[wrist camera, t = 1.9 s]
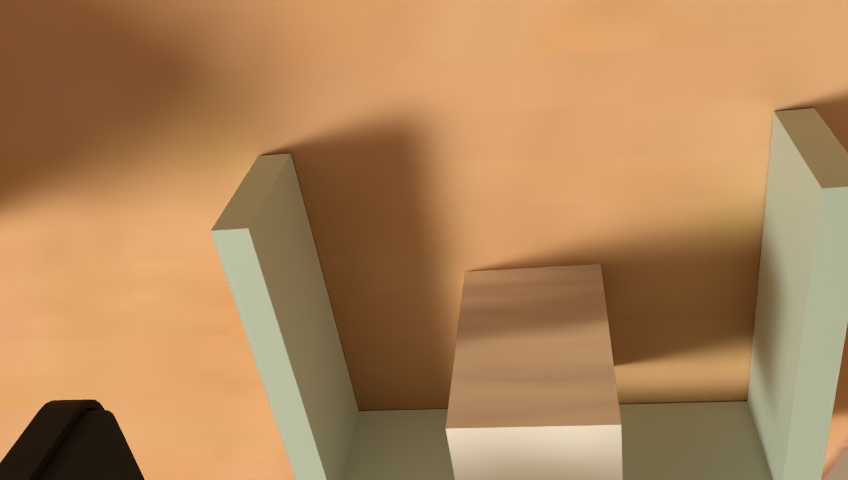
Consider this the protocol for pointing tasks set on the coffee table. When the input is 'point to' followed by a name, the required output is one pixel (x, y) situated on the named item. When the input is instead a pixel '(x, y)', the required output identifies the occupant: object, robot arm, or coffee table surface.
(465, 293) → the beige block
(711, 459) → the u-shaped bracket
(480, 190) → the coffee table surface
